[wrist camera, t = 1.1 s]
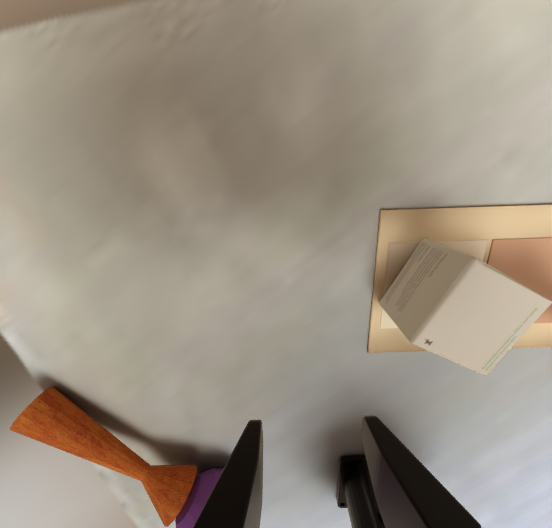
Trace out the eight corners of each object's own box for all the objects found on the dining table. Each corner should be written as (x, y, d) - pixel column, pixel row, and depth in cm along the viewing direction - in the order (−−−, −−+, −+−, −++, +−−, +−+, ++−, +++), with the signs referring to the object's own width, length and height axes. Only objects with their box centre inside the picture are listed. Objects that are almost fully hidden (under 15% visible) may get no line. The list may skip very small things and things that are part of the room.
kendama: (19, 403, 17) (262, 543, 20) (80, 359, 23) (261, 472, 26) (-30, 470, 18) (215, 599, 20) (42, 410, 24) (224, 516, 26)
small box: (438, 333, 20) (488, 380, 16) (375, 303, 19) (407, 344, 15) (488, 269, 19) (560, 301, 14) (422, 233, 18) (475, 255, 13)
